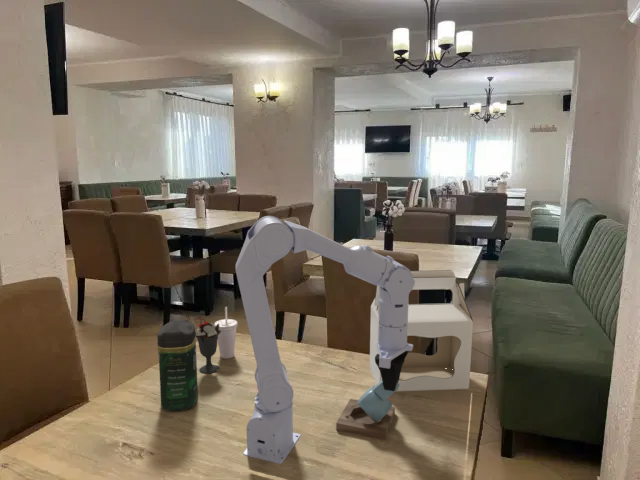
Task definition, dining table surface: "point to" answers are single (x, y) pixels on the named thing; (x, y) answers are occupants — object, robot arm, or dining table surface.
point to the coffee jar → (177, 365)
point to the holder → (363, 421)
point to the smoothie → (226, 336)
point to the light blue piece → (376, 401)
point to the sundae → (208, 344)
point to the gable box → (433, 322)
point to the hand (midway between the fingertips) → (391, 386)
